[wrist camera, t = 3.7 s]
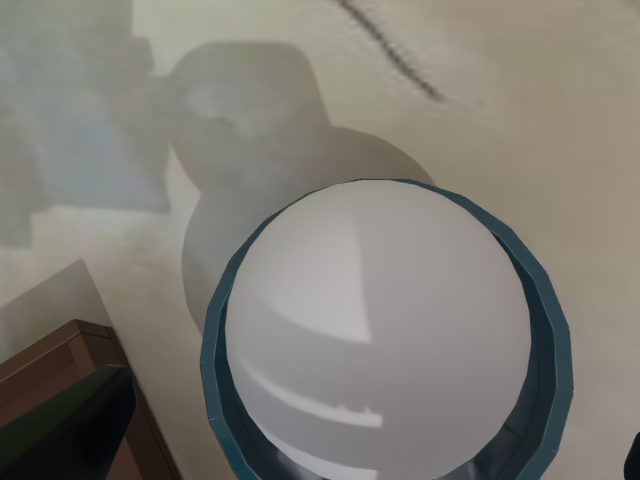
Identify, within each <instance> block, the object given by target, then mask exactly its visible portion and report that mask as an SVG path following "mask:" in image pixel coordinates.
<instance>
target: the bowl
mask: <svg viewBox="0 0 640 480" xmlns="http://www.w3.org/2000/svg"><path fill="white" fill-rule="evenodd" d="M359 180H391V181H397V182H402V183H407V184H413V185H417V186H420V187H422V188H425V189H428V190H430V191H433V192H435V193H438V194H441V195H443V196H444V197H446V198H448V199H449V200H451V201H453V202H454V203H456V204H458V205H459V206H461V207H462V208H464V209H466V210H467V211H468V212H469V213H470V214H471V215H473V216H474V217H475V218H476V219H477V220H478V221H479V222H480V223H481V224H483V225H484V226H485V227H486V228H487V229H488V230H489V231H490V232H491V234H492V235H493V236H494V238H495V239H496V240H497V242H498V243H499V244H500V246H501V247H502V248H503V249H504V251H505V252H506V253H507V255H508V256H509V258H510V260H511V263H512V265H513V267H514V269H515V271H516V273H517V275H518V277H519V279H520V281H521V283H522V287H523V291H524V294H525V298H526V302H527V305H528V309H529V315H530V332H531V348H530V355H529V362H528V369H527V375H526V378H525V381H524V383H523V386H522V389H521V391H520V394H519V397H518V399H517V402H516V405H515V406H514V408H513V410H512V411H511V413H510V414H509V416H508V417H507V419H506V421H505V422H504V424H503V425H502V427H501V428H500V430H499V431H498V433H497V434H496V435H495V436H494V437H493V438H492V439H491V440H490V441H489V442H488V443H487V444H486V445H485V446H484V447H483V448H482V449H481V450H480V451H479V452H478V453H477V454H476V455H475V456H474V457H473V458H472V459H470V460H468V461H467V462H465V463H464V464H462V465H460V466H459V467H457V468H456V469H454V470H453V471H451V472H449V473H448V474H446V475H443V476H440V477H438V478H435V479H432V480H539V479H540V478H541V476H542V475H543V473H544V472H545V471H546V469H547V468H548V466H549V465H550V463H551V462H552V461H553V459H554V458H555V456H556V453H557V452H558V449H559V445H560V441H561V438H562V434H563V430H564V427H565V423H566V419H567V416H568V412H569V408H570V405H571V401H572V397H573V390H574V386H573V371H572V355H571V340H570V331H569V330H568V329H569V326H568V324H567V321H566V319H565V316H564V314H563V311H562V309H561V306H560V304H559V301H558V299H557V296H556V294H555V291H554V289H553V286H552V284H551V281H550V279H549V276H548V274H546V271H545V270H544V268H543V267H542V266H541V265H540V263H539V262H538V261H537V260H536V259H535V257H534V256H533V255H532V254H531V252H530V251H529V250H528V249H527V247H526V246H525V245H524V244H523V243H522V241H521V240H520V239H519V238H518V236H517V235H516V234H515V233H514V232H513V230H512V229H511V228H509V227H508V226H507V225H506V224H504V223H503V222H501V221H500V220H498V219H497V218H495V217H494V216H492V215H491V214H489V213H488V212H486V211H485V210H483V209H482V208H480V207H479V206H477V205H476V204H475V203H473V202H472V201H470V200H469V199H467V198H466V197H463V196H462V195H459V194H456V193H452V192H449V191H446V190H443V189H440V188H436V187H433V186H430V185H427V184H424V183H421V182H417V181H414V180H412V181H411V180H410V179H359ZM359 180H358V179H356V180H352V181H349V182H353V181H359ZM345 183H348V182H345ZM341 184H342V183H341ZM327 188H328V187H327ZM323 189H325V188H323ZM323 189H320V190H323ZM320 190H316V191H313V192H310V193H307V194H306V195H304V196H302V197H301V198H299V199H297V200H296V201H294V202H293V203H291V204H289V205H288V206H286V207H285V208H283V209H281V210H280V211H278V212H277V213H275V214H273V215H272V216H270V217H269V218H267V219H266V221H263V223H262V224H261V225H260V226H259V227H258V228H257V229H256V231H255V232H254V233H253V234H252V235H251V236H250V237H249V238H248V240H247V241H246V242H245V243H244V244H243V245H242V246H241V247H240V249H239V250H238V251H237V252H236V253H235V254H234V255H233V257H232V258H231V260H230V261H229V263H228V265H227V267H226V269H225V271H224V273H223V276H222V278H221V280H220V282H219V284H218V286H217V289H216V291H215V293H214V295H213V297H212V299H211V302H210V304H209V306H208V309H207V314H206V321H205V328H204V335H203V342H202V349H201V356H200V371H201V377H202V383H203V390H204V396H205V403H206V409H207V416H208V420H209V424H210V426H211V428H212V430H213V432H214V434H215V436H216V438H217V440H218V442H219V444H220V446H221V448H222V450H223V452H224V454H225V456H226V458H227V460H228V462H229V464H230V466H231V468H232V470H233V472H234V474H235V475H236V477H237V478H238V479H239V480H330V479H327V478H324V477H321V476H319V475H317V474H315V473H314V472H312V471H310V470H308V469H307V468H305V467H303V466H301V465H299V464H298V463H296V462H294V461H293V460H291V459H290V458H289V457H288V456H287V455H285V454H284V453H283V452H282V451H281V450H280V449H279V448H277V447H276V446H275V445H274V444H273V443H272V442H270V441H269V440H268V439H267V438H266V436H265V435H264V434H263V432H262V431H261V430H260V429H259V427H258V426H257V425H256V423H255V422H254V421H253V419H252V418H251V417H250V416H249V414H248V412H247V410H246V408H245V406H244V404H243V402H242V400H241V398H240V396H239V394H238V392H237V390H236V388H235V385H234V381H233V378H232V374H231V370H230V367H229V363H228V359H227V348H226V335H225V325H226V316H227V308H228V300H229V297H230V294H231V290H232V287H233V284H234V281H235V277H236V274H237V271H238V269H239V267H240V265H241V263H242V261H243V260H244V258H245V256H246V254H247V252H248V250H249V248H250V246H251V245H252V244H253V243H254V241H255V240H256V239H257V238H258V236H259V235H260V234H261V233H262V231H263V230H264V229H265V227H266V226H267V225H268V224H269V223H270V222H272V221H273V220H274V219H275V218H276V217H277V216H278V215H280V214H281V213H282V212H283V211H284V210H285V209H286V208H288V207H289V206H291V205H293V204H294V203H296V202H298V201H299V200H301V199H303V198H305V197H306V196H308V195H310V194H312V193H315V192H317V191H320Z"/></svg>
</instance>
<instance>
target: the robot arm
mask: <svg viewBox="0 0 640 480" xmlns="http://www.w3.org/2000/svg"><path fill="white" fill-rule="evenodd" d="M136 405H137V395H136V391H135V387H134V383H133V379H132V375H131V371H130V369H129V368H128V367H127V366H123V365H115V364H107V365H104V366H102V367H100V368H99V369H97V370H95V371H94V372H92V373H90V374H89V375H87V376H85V377H84V378H82V379H80V380H79V381H77V382H75V383H74V384H72V385H70V386H68V387H67V388H65V389H63V390H62V391H60V392H58V393H57V394H55V395H53V396H52V397H50V398H48V399H47V400H45V401H43V402H42V403H40V404H38V405H37V406H35V407H33V408H32V409H30V410H28V411H26V412H25V413H23V414H21V415H20V416H18V417H16V418H15V419H13V420H11V421H10V422H8V423H6V424H5V425H3V426H1V427H0V480H106V478H107V476H108V474H109V471H110V469H111V467H112V464H113V462H114V459H115V457H116V455H117V452H118V450H119V447H120V445H121V443H122V440H123V438H124V435H125V433H126V431H127V428H128V426H129V424H130V421H131V419H132V416H133V414H134V412H135V409H136ZM624 479H625V480H640V432H639V433H638V434H637V435H636V437H635V439H634V442H633V444H632V446H631V449H630V451H629V454H628V456H627V458H626V461H625V464H624Z"/></svg>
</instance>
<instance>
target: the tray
mask: <svg viewBox="0 0 640 480" xmlns="http://www.w3.org/2000/svg"><path fill="white" fill-rule="evenodd" d="M107 364H115V365H123V366H127V367H128V368H129V366H128V363H127V361H126V359H125V357H124V355H123V352H122V350H121V348H120V346H119V344H118V341H117V339H116V337H115V335H114V333H113V330H112V328H111V327H107V326H102V325H98V324H94V323H90V322H86V321H82V320H78V319H73V320H72V321H70V322H68V323H67V324H65V325H64V326H62V327H60V328H59V329H57V330H56V331H54V332H52V333H51V334H49V335H47V336H46V337H44V338H43V339H41V340H39V341H38V342H36V343H35V344H33V345H31V346H30V347H28V348H27V349H25V350H23V351H22V352H20V353H19V354H17V355H15V356H14V357H12V358H10V359H9V360H7V361H6V362H4V363H2V364H1V365H0V427H1V426H3V425H5V424H6V423H8V422H10V421H11V420H13V419H15V418H16V417H18V416H20V415H21V414H23V413H25V412H26V411H28V410H30V409H32V408H33V407H35V406H37V405H38V404H40V403H42V402H43V401H45V400H47V399H48V398H50V397H52V396H53V395H55V394H57V393H58V392H60V391H62V390H63V389H65V388H67V387H68V386H70V385H72V384H74V383H75V382H77V381H79V380H80V379H82V378H84V377H85V376H87V375H89V374H90V373H92V372H94V371H95V370H97V369H99V368H100V367H102V366H104V365H107ZM129 369H130V368H129ZM130 371H131V370H130ZM131 375H132V379H133V383H134V387H135V391H136V395H137V405H136V409H135V412H134V414H133V416H132V419H131V421H130V424H129V426H128V428H127V431H126V433H125V435H124V438H123V440H122V443H121V445H120V447H119V450H118V452H117V455H116V457H115V459H114V462H113V464H112V467H111V469H110V471H109V474H108V476H107V478H106V480H180V478H179V476H178V473H177V471H176V469H175V467H174V465H173V462H172V460H171V458H170V456H169V454H168V451H167V449H166V447H165V445H164V443H163V440H162V438H161V436H160V434H159V432H158V429H157V427H156V425H155V423H154V421H153V418H152V416H151V414H150V412H149V410H148V407H147V405H146V403H145V401H144V399H143V396H142V394H141V392H140V390H139V388H138V385H137V383H136V381H135V379H134V377H133V374H132V372H131Z"/></svg>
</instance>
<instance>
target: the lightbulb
mask: <svg viewBox="0 0 640 480" xmlns="http://www.w3.org/2000/svg"><path fill="white" fill-rule="evenodd" d="M225 335H226V348H227V359H228V363H229V367H230V370H231V374H232V378H233V381H234V385H235V388H236V390H237V392H238V394H239V396H240V398H241V400H242V402H243V404H244V406H245V408H246V410H247V412H248V414H249V416H250V417H251V418H252V419H253V421H254V422H255V423H256V425H257V426H258V427H259V429H260V430H261V431H262V432H263V434H264V435H265V436H266V438H267V439H268V440H269V441H270V442H272V443H273V444H274V445H275V446H276V447H277V448H279V449H280V450H281V451H282V452H283V453H284V454H285V455H287V456H288V457H289V458H290V459H291V460H293V461H294V462H296V463H298V464H299V465H301V466H303V467H305V468H307V469H308V470H310V471H312V472H314V473H315V474H317V475H319V476H321V477H324V478H327V479H330V480H432V479H435V478H438V477H440V476H443V475H446V474H448V473H449V472H451V471H453V470H454V469H456V468H457V467H459V466H460V465H462V464H464V463H465V462H467V461H468V460H470V459H472V458H473V457H474V456H475V455H476V454H477V453H478V452H479V451H480V450H481V449H482V448H483V447H484V446H485V445H486V444H487V443H488V442H489V441H490V440H491V439H492V438H493V437H494V436H495V435H496V434H497V433H498V431H499V430H500V428H501V427H502V425H503V424H504V422H505V421H506V419H507V417H508V416H509V414H510V413H511V411H512V410H513V408H514V406H515V405H516V402H517V399H518V397H519V394H520V391H521V389H522V386H523V383H524V381H525V378H526V375H527V369H528V362H529V355H530V348H531V332H530V315H529V309H528V305H527V302H526V298H525V294H524V291H523V287H522V283H521V281H520V279H519V277H518V275H517V273H516V271H515V269H514V267H513V265H512V263H511V260H510V258H509V256H508V255H507V253H506V252H505V251H504V249H503V248H502V247H501V246H500V244H499V243H498V242H497V240H496V239H495V238H494V236H493V235H492V234H491V232H490V231H489V230H488V229H487V228H486V227H485V226H484V225H483V224H481V223H480V222H479V221H478V220H477V219H476V218H475V217H474V216H473V215H471V214H470V213H469V212H468V211H467V210H466V209H464V208H462V207H461V206H459V205H458V204H456V203H454V202H453V201H451V200H449V199H448V198H446V197H444V196H443V195H441V194H438V193H435V192H433V191H430V190H428V189H425V188H422V187H420V186H417V185H413V184H407V183H402V182H397V181H391V180H359V181H353V182H348V183H342V184H337V185H333V186H331V187H328V188H325V189H323V190H320V191H317V192H315V193H312V194H310V195H308V196H306V197H305V198H303V199H301V200H299V201H298V202H296V203H294V204H293V205H291V206H289V207H288V208H286V209H285V210H284V211H283V212H282V213H281V214H280V215H278V216H277V217H276V218H275V219H274V220H273V221H272V222H270V223H269V224H268V225H267V226H266V227H265V229H264V230H263V231H262V233H261V234H260V235H259V236H258V238H257V239H256V240H255V241H254V243H253V244H252V245H251V246H250V248H249V250H248V252H247V254H246V256H245V258H244V260H243V261H242V263H241V265H240V267H239V269H238V271H237V274H236V277H235V281H234V284H233V287H232V290H231V294H230V297H229V300H228V308H227V316H226V325H225Z"/></svg>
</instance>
